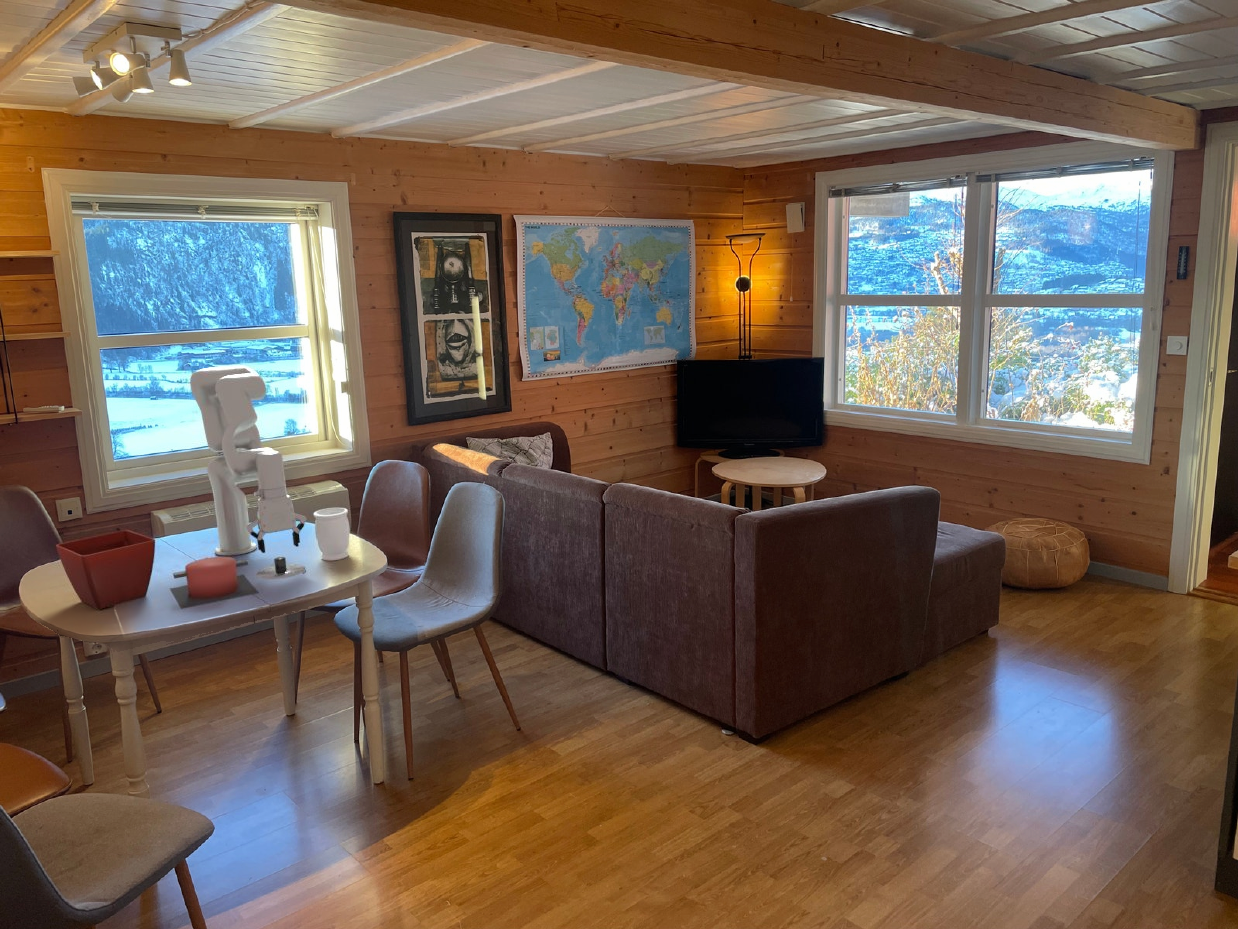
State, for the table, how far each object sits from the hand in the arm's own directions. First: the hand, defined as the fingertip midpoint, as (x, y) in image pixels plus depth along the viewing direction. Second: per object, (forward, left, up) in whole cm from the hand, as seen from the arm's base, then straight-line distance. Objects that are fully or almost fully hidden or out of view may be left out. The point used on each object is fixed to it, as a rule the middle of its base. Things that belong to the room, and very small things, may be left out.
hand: (279, 548), depth 270 cm
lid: (-1, 0, -8) cm, 8 cm away
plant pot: (-7, -44, -8) cm, 45 cm away
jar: (-7, +18, -8) cm, 21 cm away
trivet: (+5, -20, -8) cm, 22 cm away
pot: (+5, -20, -7) cm, 22 cm away
